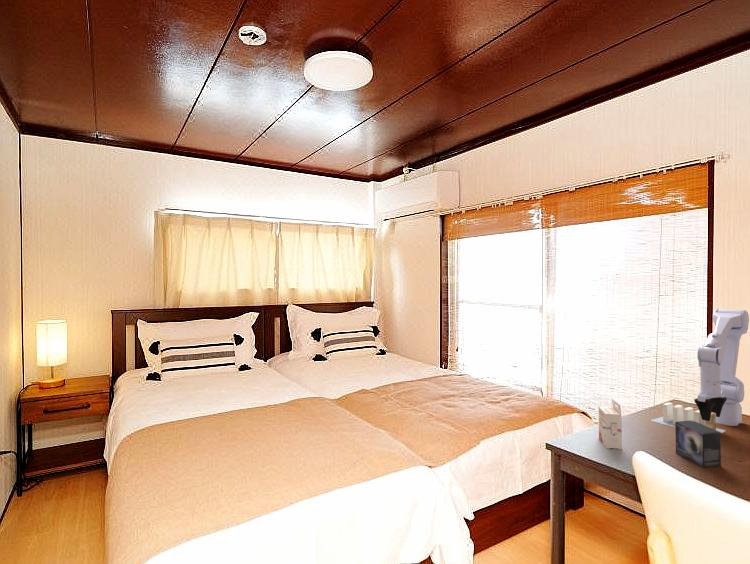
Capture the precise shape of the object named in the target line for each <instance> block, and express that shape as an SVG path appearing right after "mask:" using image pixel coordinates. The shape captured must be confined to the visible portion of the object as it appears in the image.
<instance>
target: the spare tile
mask: <svg viewBox="0 0 750 564" xmlns="http://www.w3.org/2000/svg"><path fill="white" fill-rule="evenodd" d="M705 426H707V427H709V428H712V429H714V430H716V428H717V423H716V413H713V412H711V418H710V421H706V420H705Z"/></svg>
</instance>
